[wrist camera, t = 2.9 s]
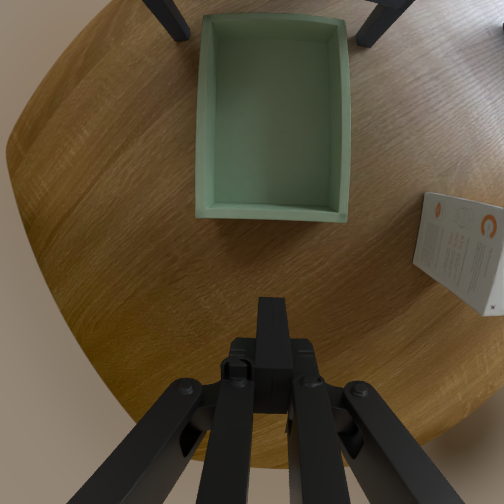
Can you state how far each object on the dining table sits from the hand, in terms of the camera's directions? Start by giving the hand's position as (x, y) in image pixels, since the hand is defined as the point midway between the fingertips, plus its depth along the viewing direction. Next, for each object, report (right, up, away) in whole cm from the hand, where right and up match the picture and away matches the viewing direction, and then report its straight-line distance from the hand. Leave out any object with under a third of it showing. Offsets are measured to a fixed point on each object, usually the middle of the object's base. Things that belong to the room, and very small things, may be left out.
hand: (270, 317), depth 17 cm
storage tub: (+1, +16, +8) cm, 18 cm away
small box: (+20, +6, +10) cm, 23 cm away
